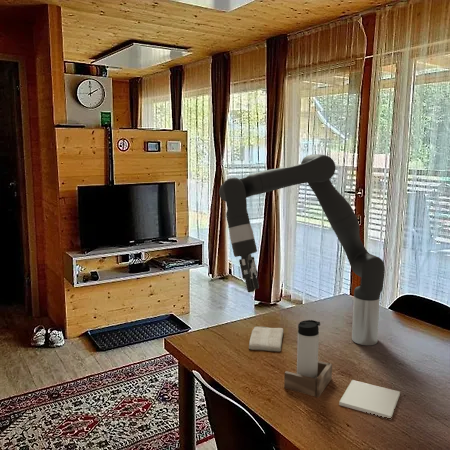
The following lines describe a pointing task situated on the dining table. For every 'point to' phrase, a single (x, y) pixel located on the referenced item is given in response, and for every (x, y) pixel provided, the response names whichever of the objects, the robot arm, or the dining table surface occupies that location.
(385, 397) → the white mat
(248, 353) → the dining table surface
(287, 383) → the walnut cubby
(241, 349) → the dining table surface
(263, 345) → the washcloth
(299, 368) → the travel mug
